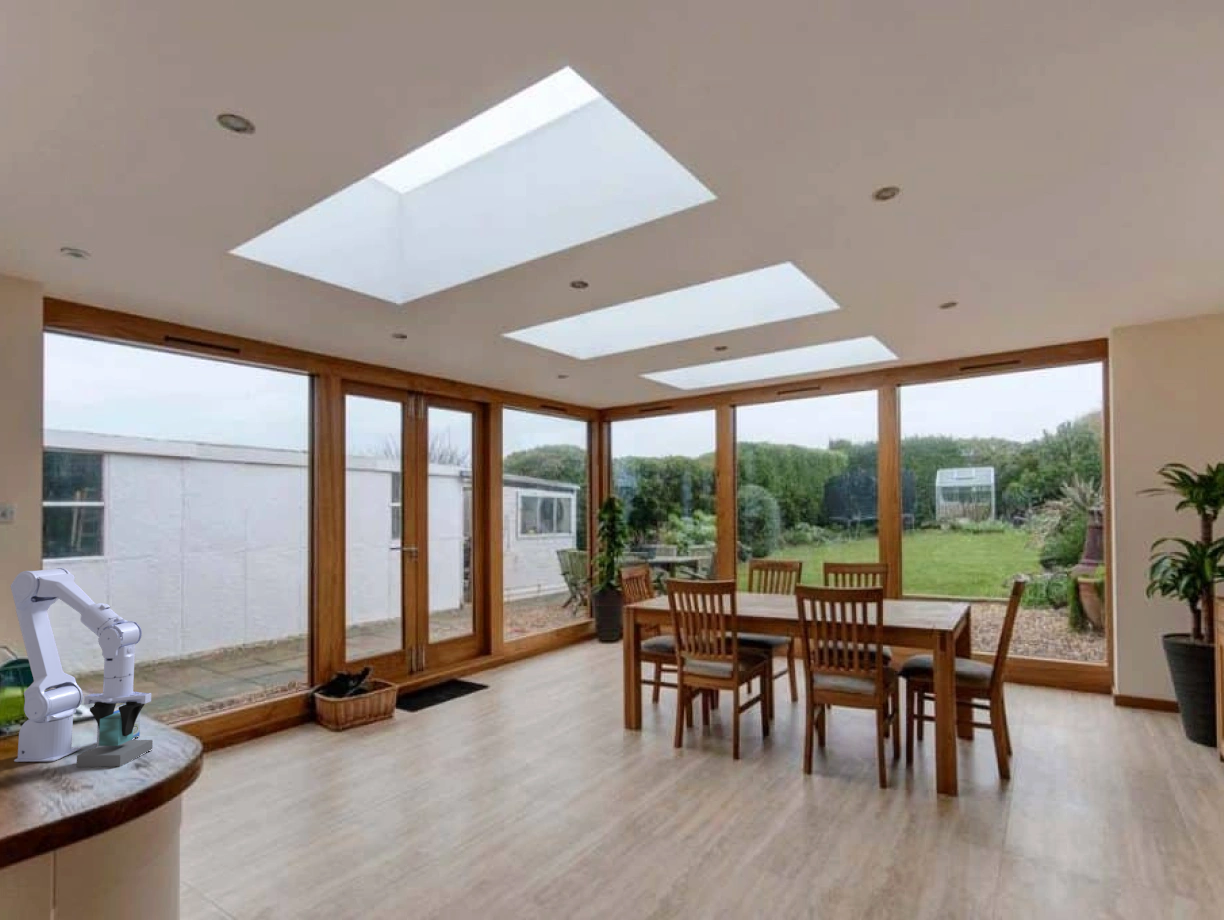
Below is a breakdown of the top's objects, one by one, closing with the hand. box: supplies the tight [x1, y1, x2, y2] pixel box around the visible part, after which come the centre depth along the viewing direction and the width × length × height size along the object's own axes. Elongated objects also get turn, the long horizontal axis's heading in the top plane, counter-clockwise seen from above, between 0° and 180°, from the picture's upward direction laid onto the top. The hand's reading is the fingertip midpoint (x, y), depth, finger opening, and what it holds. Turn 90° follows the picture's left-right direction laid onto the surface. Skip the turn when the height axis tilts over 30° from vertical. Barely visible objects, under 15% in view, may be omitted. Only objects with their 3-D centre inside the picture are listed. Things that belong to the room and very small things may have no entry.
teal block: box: [99, 713, 133, 746], centre depth 153 cm, size 4×4×6 cm
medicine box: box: [96, 703, 141, 747], centre depth 164 cm, size 8×4×9 cm, turn 168°
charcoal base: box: [76, 739, 153, 768], centre depth 153 cm, size 10×10×2 cm
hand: (116, 735), depth 153 cm, fingers closed on teal block, 4 cm apart
